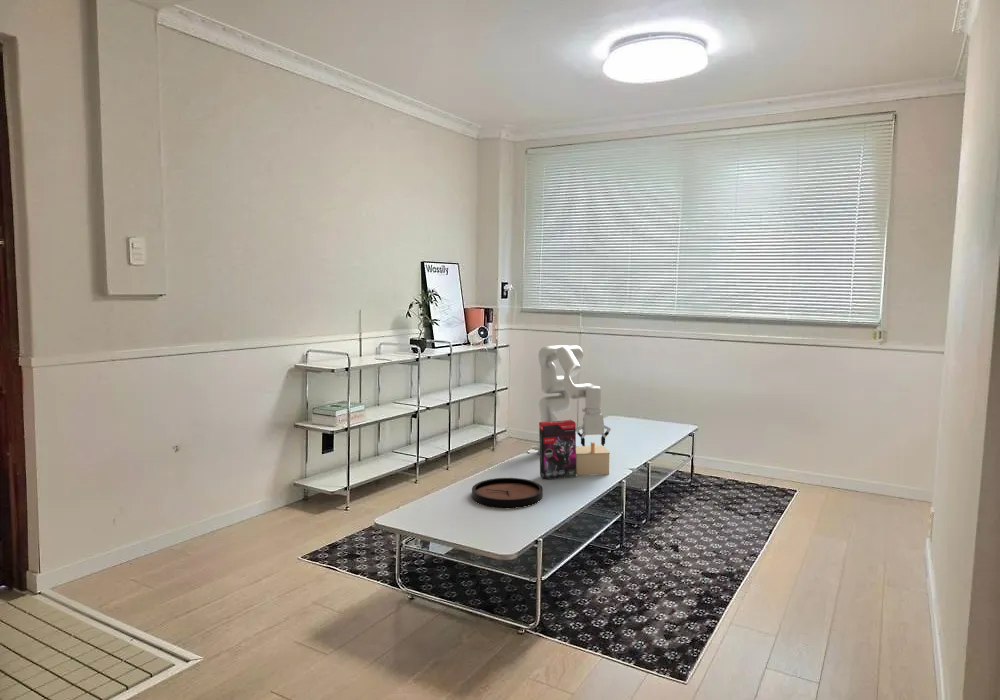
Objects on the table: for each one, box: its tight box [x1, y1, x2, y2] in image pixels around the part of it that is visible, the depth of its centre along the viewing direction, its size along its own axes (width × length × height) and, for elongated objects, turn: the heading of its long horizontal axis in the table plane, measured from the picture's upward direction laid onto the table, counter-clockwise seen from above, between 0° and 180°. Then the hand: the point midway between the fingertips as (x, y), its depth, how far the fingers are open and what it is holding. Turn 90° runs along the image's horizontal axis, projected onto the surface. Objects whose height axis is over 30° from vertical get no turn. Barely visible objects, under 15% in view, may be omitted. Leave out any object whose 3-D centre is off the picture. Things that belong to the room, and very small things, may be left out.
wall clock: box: [471, 477, 544, 509], centre depth 300 cm, size 31×4×31 cm
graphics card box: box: [538, 419, 577, 481], centre depth 327 cm, size 17×7×27 cm, turn 105°
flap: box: [576, 441, 611, 455], centre depth 337 cm, size 16×14×6 cm
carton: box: [576, 454, 610, 476], centre depth 338 cm, size 16×14×10 cm
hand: (593, 445), depth 332 cm, fingers open, 9 cm apart
